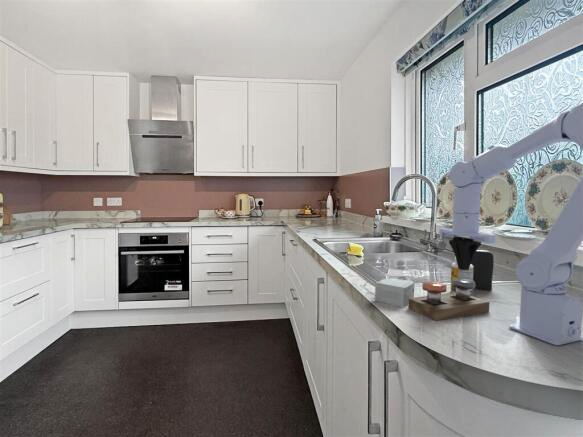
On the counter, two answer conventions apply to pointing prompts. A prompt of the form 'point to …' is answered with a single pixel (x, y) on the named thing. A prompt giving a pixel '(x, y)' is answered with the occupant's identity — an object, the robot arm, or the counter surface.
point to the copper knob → (434, 291)
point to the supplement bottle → (460, 274)
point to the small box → (394, 291)
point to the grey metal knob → (463, 288)
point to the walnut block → (448, 307)
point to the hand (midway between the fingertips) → (463, 269)
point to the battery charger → (483, 269)
